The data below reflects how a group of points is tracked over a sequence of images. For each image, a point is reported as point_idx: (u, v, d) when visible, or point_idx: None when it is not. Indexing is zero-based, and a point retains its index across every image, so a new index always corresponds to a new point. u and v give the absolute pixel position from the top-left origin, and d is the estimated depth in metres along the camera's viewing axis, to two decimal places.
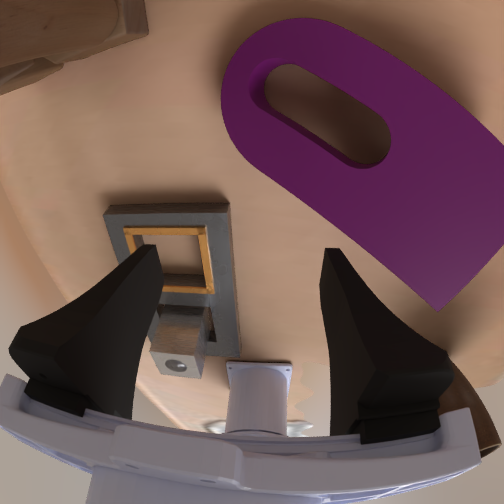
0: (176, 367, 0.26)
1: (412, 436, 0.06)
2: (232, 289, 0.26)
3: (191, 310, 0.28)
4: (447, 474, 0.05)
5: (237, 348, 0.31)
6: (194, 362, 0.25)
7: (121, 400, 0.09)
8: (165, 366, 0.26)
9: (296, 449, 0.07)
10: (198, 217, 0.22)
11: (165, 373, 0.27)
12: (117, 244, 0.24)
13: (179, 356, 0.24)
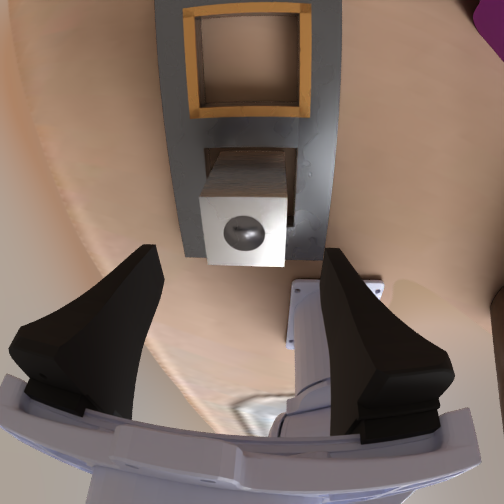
0: (243, 239, 0.15)
1: (413, 436, 0.06)
2: (337, 111, 0.15)
3: (264, 158, 0.18)
4: (447, 474, 0.05)
5: (323, 240, 0.21)
6: (284, 216, 0.14)
7: (121, 400, 0.09)
8: (221, 238, 0.15)
9: (296, 449, 0.07)
10: None
11: (217, 260, 0.16)
12: (166, 39, 0.13)
13: (258, 204, 0.14)
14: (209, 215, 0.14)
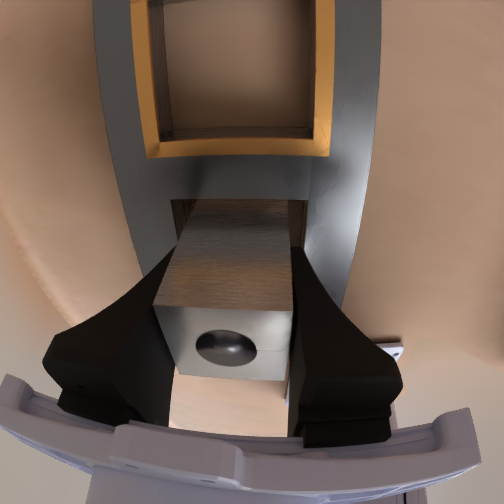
0: (225, 355, 0.10)
1: (361, 444, 0.06)
2: (370, 147, 0.10)
3: (258, 214, 0.12)
4: (447, 474, 0.05)
5: None
6: (286, 333, 0.09)
7: (160, 408, 0.09)
8: (194, 351, 0.10)
9: (296, 449, 0.07)
10: None
11: (191, 371, 0.11)
12: (108, 38, 0.08)
13: (245, 318, 0.09)
14: (172, 327, 0.09)
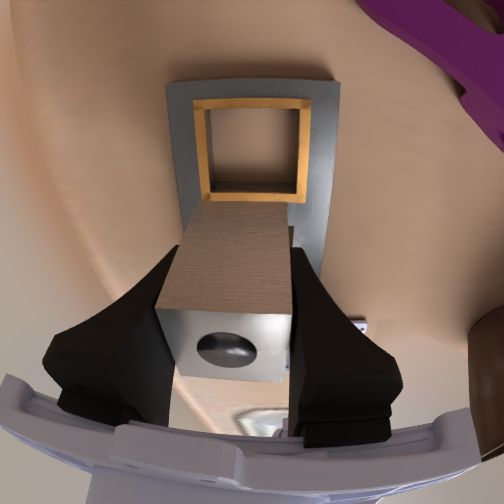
0: (225, 356, 0.10)
1: (362, 444, 0.06)
2: (329, 196, 0.19)
3: (258, 218, 0.12)
4: (447, 474, 0.05)
5: None
6: (286, 335, 0.09)
7: (160, 407, 0.09)
8: (195, 353, 0.10)
9: (296, 449, 0.07)
10: (303, 85, 0.15)
11: (192, 372, 0.11)
12: (178, 128, 0.17)
13: (246, 321, 0.09)
14: (174, 329, 0.09)
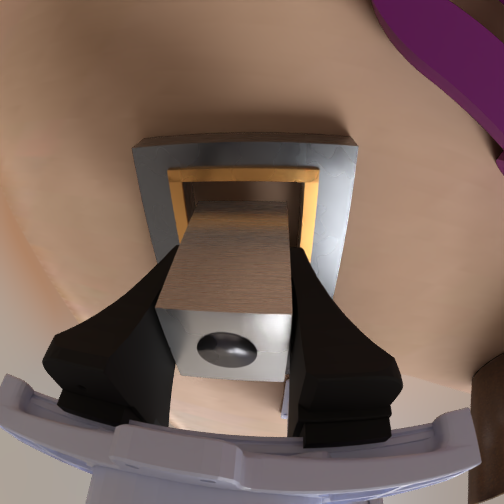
0: (225, 356, 0.10)
1: (361, 444, 0.06)
2: (335, 277, 0.17)
3: (258, 218, 0.12)
4: (447, 474, 0.05)
5: None
6: (286, 335, 0.09)
7: (160, 408, 0.09)
8: (195, 353, 0.10)
9: (296, 449, 0.07)
10: (310, 151, 0.12)
11: (192, 372, 0.11)
12: (153, 202, 0.14)
13: (246, 321, 0.09)
14: (174, 329, 0.09)
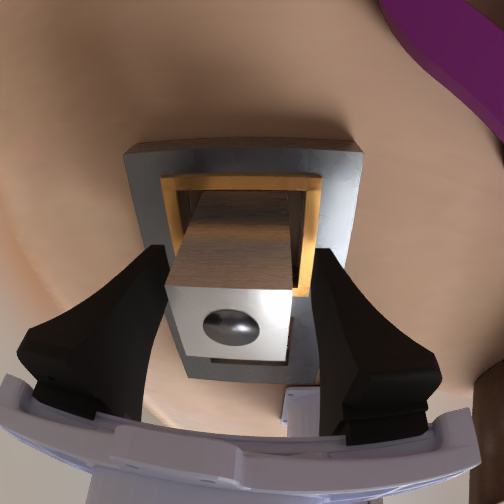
0: (230, 334, 0.11)
1: (400, 438, 0.06)
2: None
3: (260, 206, 0.13)
4: (447, 474, 0.05)
5: (314, 372, 0.21)
6: (287, 311, 0.10)
7: (131, 402, 0.09)
8: (200, 331, 0.11)
9: (296, 449, 0.07)
10: (312, 157, 0.12)
11: (197, 352, 0.12)
12: (146, 211, 0.14)
13: (250, 297, 0.09)
14: (181, 307, 0.10)
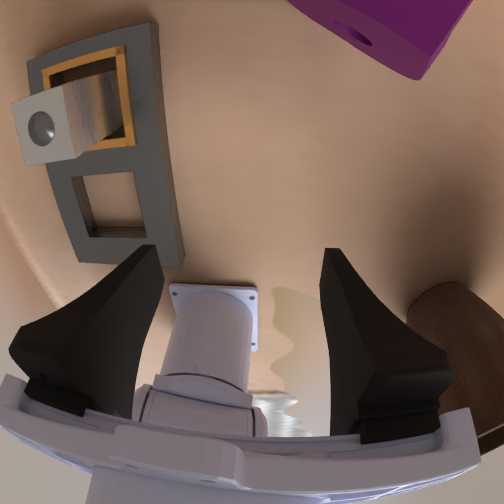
0: (41, 134, 0.12)
1: (413, 436, 0.06)
2: (157, 136, 0.17)
3: None
4: (447, 474, 0.05)
5: (175, 249, 0.23)
6: (63, 104, 0.11)
7: (121, 400, 0.09)
8: (28, 137, 0.12)
9: (296, 449, 0.07)
10: (118, 34, 0.13)
11: (30, 160, 0.13)
12: None
13: (44, 97, 0.11)
14: (18, 117, 0.12)
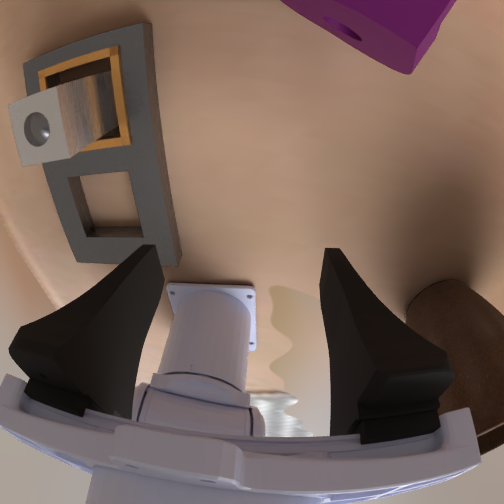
0: (36, 135, 0.12)
1: (413, 436, 0.06)
2: (152, 135, 0.17)
3: None
4: (447, 474, 0.05)
5: (171, 248, 0.23)
6: (57, 104, 0.11)
7: (121, 400, 0.09)
8: (24, 137, 0.12)
9: (296, 449, 0.07)
10: (111, 35, 0.13)
11: (26, 161, 0.13)
12: None
13: (39, 98, 0.11)
14: (14, 118, 0.12)
